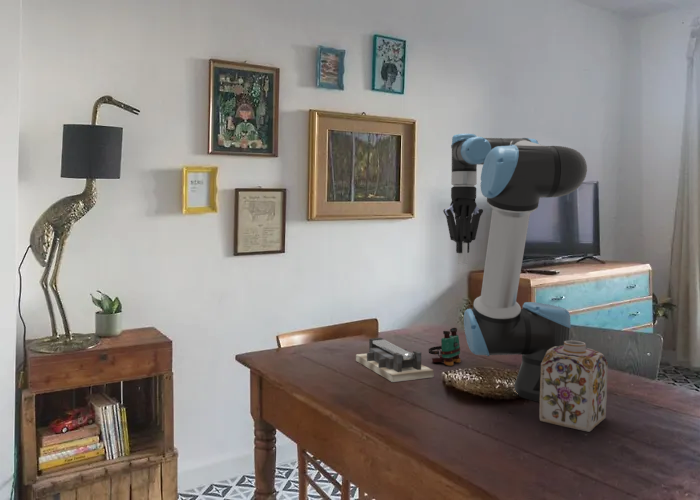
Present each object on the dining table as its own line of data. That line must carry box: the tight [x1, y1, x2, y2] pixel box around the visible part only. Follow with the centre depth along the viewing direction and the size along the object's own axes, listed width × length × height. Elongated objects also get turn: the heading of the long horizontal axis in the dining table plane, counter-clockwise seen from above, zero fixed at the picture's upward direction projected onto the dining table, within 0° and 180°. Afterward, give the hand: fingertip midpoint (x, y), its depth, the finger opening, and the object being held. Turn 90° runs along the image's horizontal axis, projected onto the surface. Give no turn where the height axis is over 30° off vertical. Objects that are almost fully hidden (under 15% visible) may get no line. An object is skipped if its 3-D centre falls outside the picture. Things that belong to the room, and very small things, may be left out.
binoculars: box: [428, 327, 462, 367], centre depth 195 cm, size 9×11×10 cm
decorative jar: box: [538, 340, 609, 433], centre depth 143 cm, size 12×12×18 cm
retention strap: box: [373, 339, 415, 360], centre depth 187 cm, size 20×4×2 cm, turn 23°
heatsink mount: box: [355, 337, 435, 383], centre depth 187 cm, size 25×13×7 cm, turn 23°
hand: (462, 263), depth 193 cm, fingers closed
